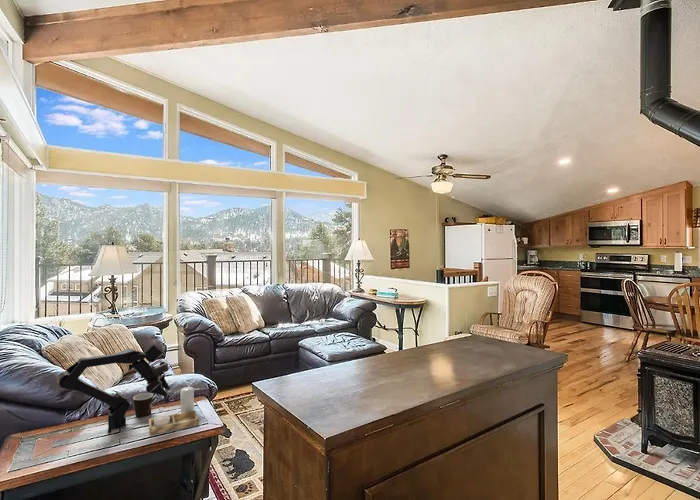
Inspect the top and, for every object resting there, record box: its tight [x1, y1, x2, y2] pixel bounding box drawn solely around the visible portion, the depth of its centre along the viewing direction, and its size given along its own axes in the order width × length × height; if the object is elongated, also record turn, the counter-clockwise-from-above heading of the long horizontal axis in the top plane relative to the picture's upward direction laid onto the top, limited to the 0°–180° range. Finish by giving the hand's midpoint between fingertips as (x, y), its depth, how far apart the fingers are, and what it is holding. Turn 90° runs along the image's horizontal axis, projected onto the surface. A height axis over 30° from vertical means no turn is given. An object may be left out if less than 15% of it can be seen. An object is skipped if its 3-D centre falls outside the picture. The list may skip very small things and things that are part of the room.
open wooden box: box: [148, 409, 199, 436], centre depth 179 cm, size 20×11×4 cm, turn 119°
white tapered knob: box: [180, 386, 195, 413], centre depth 191 cm, size 6×6×13 cm
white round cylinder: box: [154, 414, 170, 427], centre depth 177 cm, size 6×6×4 cm
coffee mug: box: [132, 392, 154, 419], centre depth 191 cm, size 12×9×10 cm
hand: (168, 392), depth 188 cm, fingers open, 9 cm apart
